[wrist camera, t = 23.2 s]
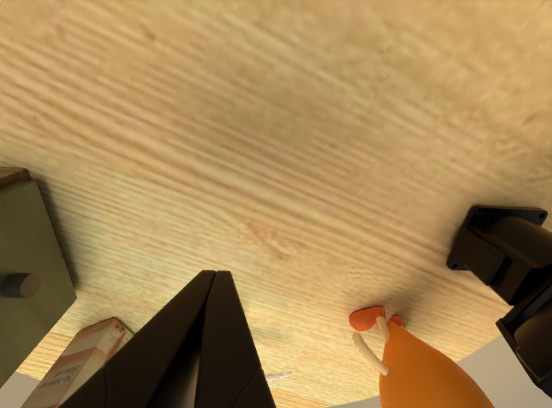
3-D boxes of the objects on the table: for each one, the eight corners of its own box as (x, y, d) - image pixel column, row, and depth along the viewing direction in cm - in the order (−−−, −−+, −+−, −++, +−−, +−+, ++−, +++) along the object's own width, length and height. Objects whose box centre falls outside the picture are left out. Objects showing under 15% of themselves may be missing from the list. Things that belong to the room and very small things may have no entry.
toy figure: (320, 317, 27) (373, 554, 14) (368, 264, 24) (496, 497, 11) (404, 351, 30) (516, 574, 17) (456, 308, 27) (642, 534, 14)
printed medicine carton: (115, 315, 26) (34, 441, 17) (142, 341, 28) (83, 468, 19) (74, 331, 27) (-24, 460, 18) (103, 355, 29) (28, 483, 20)
